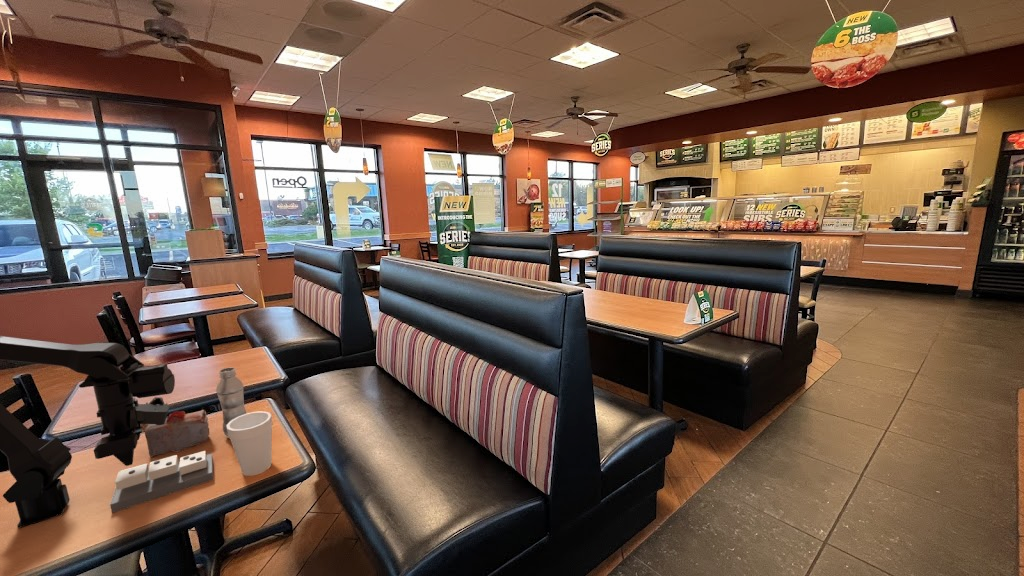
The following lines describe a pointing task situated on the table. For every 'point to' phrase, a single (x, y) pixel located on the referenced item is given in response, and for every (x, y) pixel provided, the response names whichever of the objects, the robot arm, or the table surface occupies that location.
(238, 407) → the plastic bottle
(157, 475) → the key two
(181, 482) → the keypad board
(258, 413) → the foam cup
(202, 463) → the key three
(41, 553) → the table surface
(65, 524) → the table surface
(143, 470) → the key one
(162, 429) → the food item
